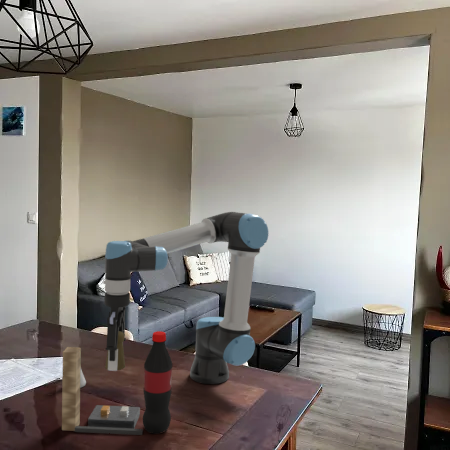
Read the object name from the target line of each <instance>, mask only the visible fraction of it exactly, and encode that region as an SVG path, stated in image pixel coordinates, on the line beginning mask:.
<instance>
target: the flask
mask: <svg viewBox="0 0 450 450" xmlns="http://www.w3.org/2000/svg"><path fill="white" fill-rule="evenodd" d="M86 384H87V381H86V378H85V375H84V373H83V371H82V367H81V365H80V389H81V388H83V387H85V386H86Z"/></svg>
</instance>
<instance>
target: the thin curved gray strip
mask: <svg viewBox="0 0 450 450" xmlns="http://www.w3.org/2000/svg"><path fill="white" fill-rule="evenodd" d="M143 431H144V429H143V428H134V429H131V428H109V427H88V425H87V426H86V425H85V426H83V425H82V426H81V425H79V426H76V427H75V431H74V432H75V433H87V434H88V433H92V434H93V433H94V434H109V433H110V434H113V435H115V434H116V435H130V436H131V435H134V436H139V435H140V436H143V433H144V432H143Z"/></svg>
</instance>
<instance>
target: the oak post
mask: <svg viewBox="0 0 450 450" xmlns="http://www.w3.org/2000/svg"><path fill="white" fill-rule="evenodd" d="M81 351H82V349H81V347H78V346H77V347H76V346H75V347H73V346H71V347H70V346H67V347H66V348H65V349H64V350H62V379H61V380H62V382H61V383H62V385H61V387H62V390H61V391H62V392H61V394H62V395H61V396H62V397H61V400H62V401H61V406H62V407H61V430H62V431H71V432H72V431H73V432H75V427H76V426H80V423H81V421H80V420H81V419H80V417H81V416H80V415H81V414H80V413H81V411H80V410H81V388H80V366H81V363H82V362H81V360H82V359H81V356H82V355H81Z"/></svg>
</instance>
